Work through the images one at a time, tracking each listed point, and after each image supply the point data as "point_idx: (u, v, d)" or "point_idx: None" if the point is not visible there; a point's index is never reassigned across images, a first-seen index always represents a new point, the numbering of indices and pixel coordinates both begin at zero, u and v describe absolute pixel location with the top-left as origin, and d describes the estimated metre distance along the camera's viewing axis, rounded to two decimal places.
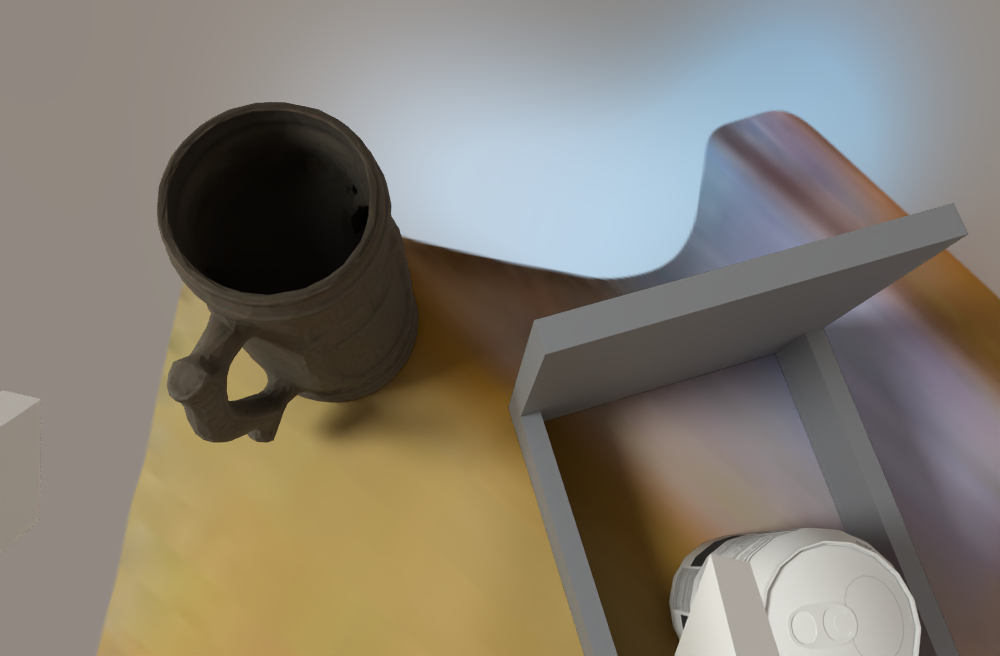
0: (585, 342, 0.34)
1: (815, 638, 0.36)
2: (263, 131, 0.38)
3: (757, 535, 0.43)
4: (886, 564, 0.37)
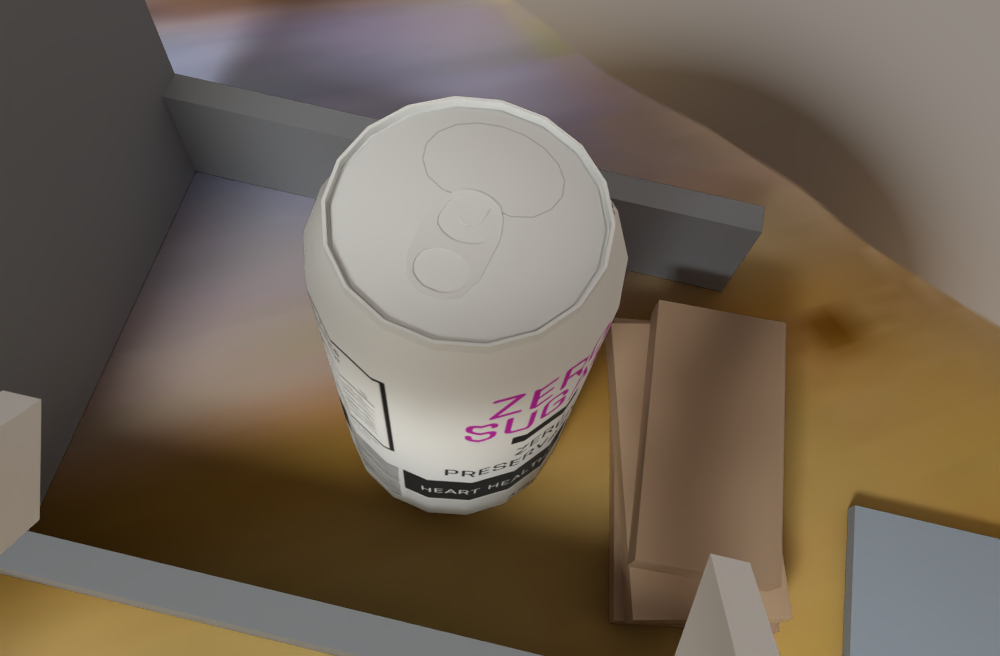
0: None
1: (467, 264, 0.19)
2: None
3: None
4: (431, 103, 0.21)
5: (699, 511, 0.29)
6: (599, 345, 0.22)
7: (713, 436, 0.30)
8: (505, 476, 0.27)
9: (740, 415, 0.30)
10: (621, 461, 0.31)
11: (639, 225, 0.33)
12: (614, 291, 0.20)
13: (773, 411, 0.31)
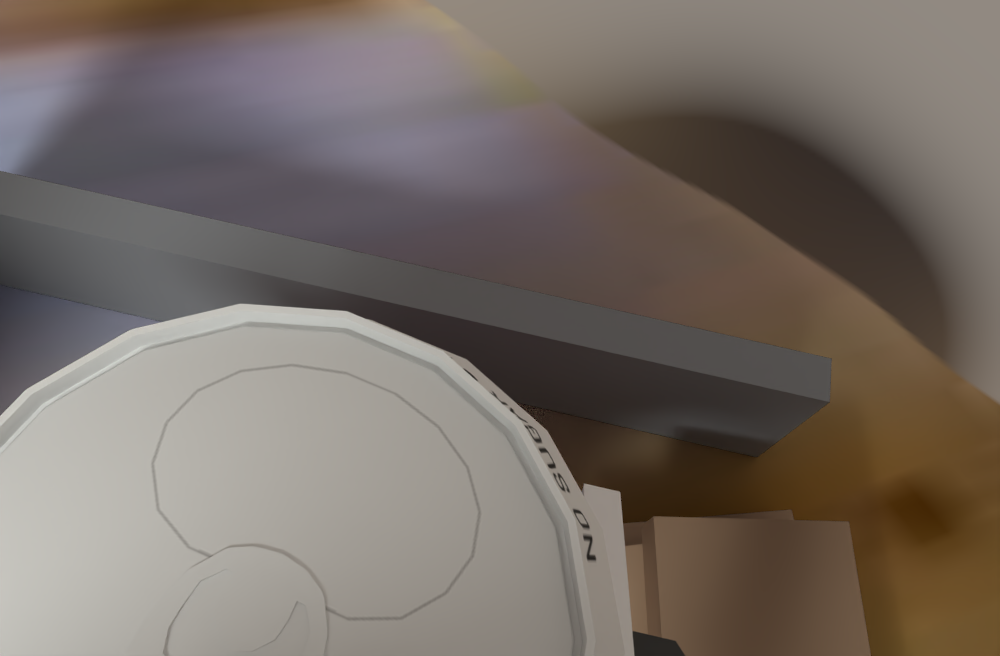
0: None
1: None
2: None
3: None
4: (185, 323, 0.09)
5: None
6: None
7: None
8: None
9: None
10: None
11: (639, 381, 0.22)
12: None
13: None
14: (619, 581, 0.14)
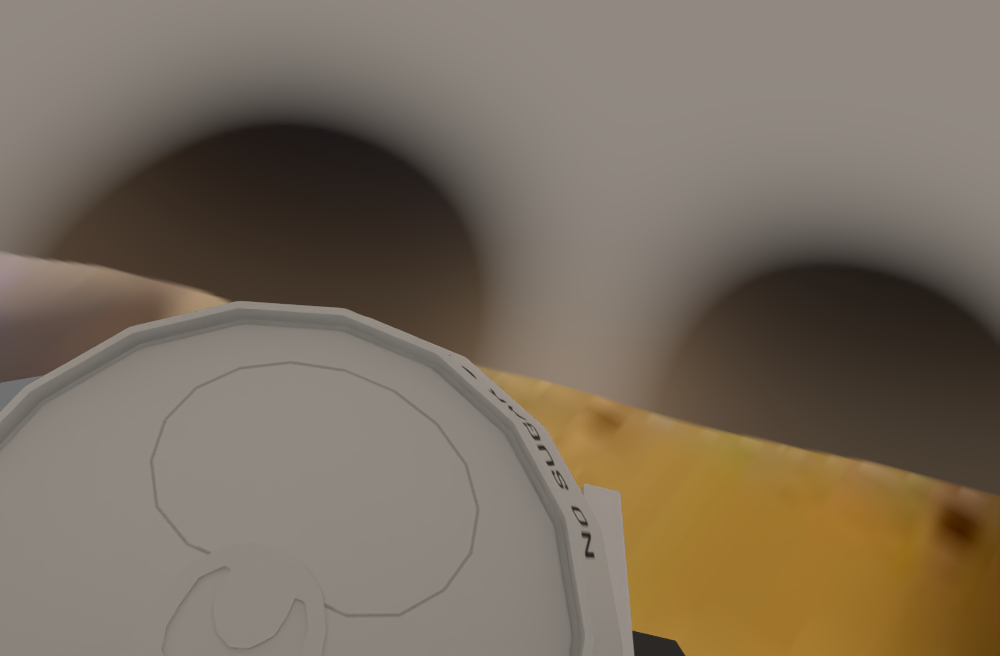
0: None
1: None
2: None
3: None
4: (184, 320, 0.09)
5: None
6: None
7: None
8: None
9: None
10: None
11: None
12: None
13: None
14: (619, 581, 0.14)
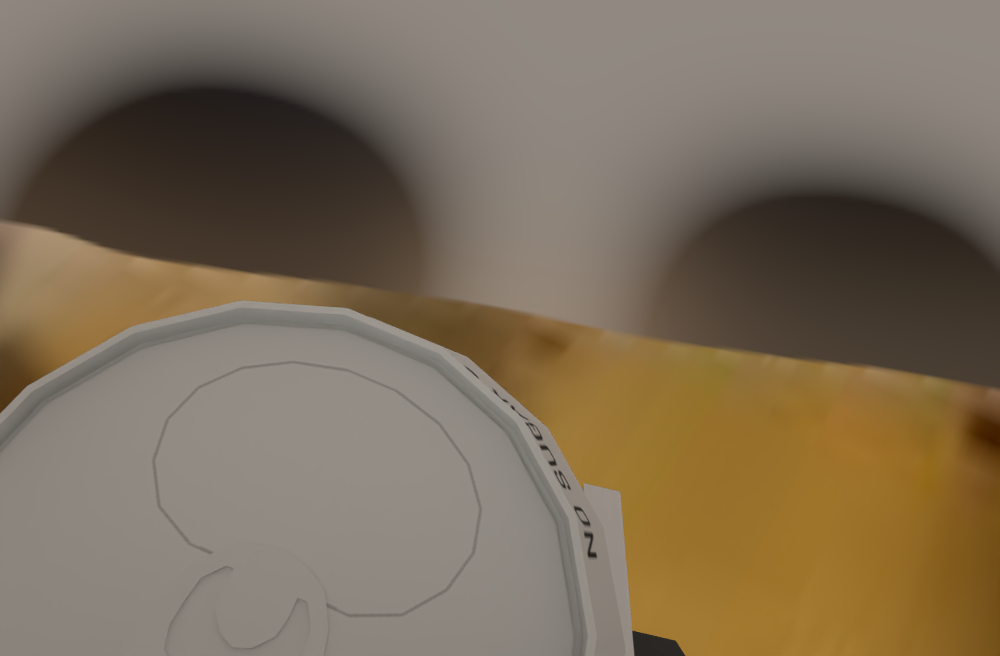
0: None
1: None
2: None
3: None
4: (186, 319, 0.09)
5: None
6: None
7: None
8: None
9: None
10: None
11: None
12: None
13: None
14: (619, 581, 0.14)
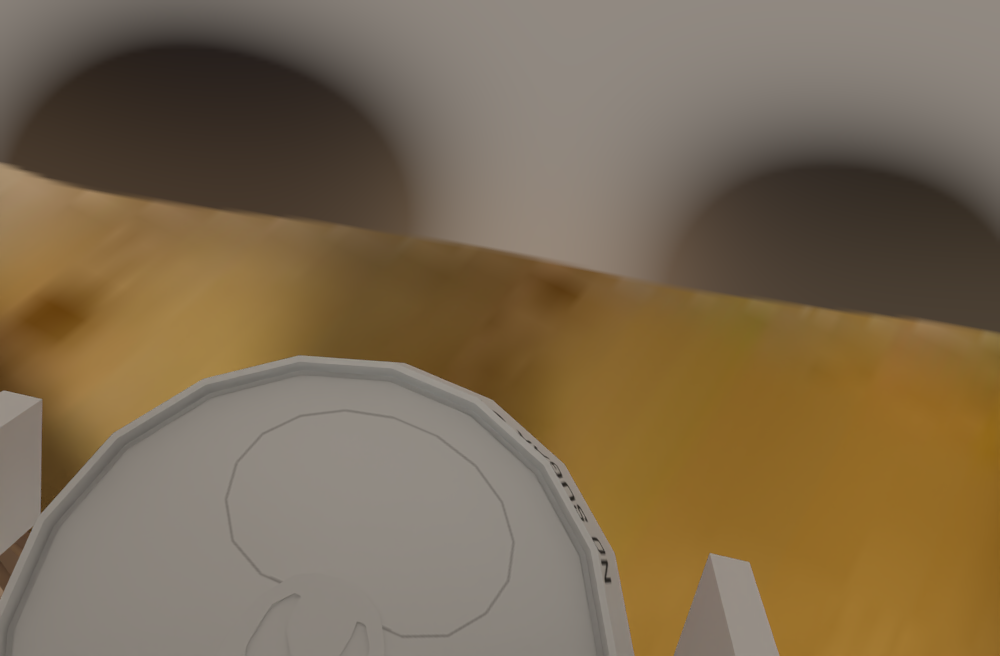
0: None
1: None
2: None
3: None
4: (251, 373, 0.11)
5: None
6: None
7: None
8: None
9: None
10: None
11: None
12: None
13: None
14: None
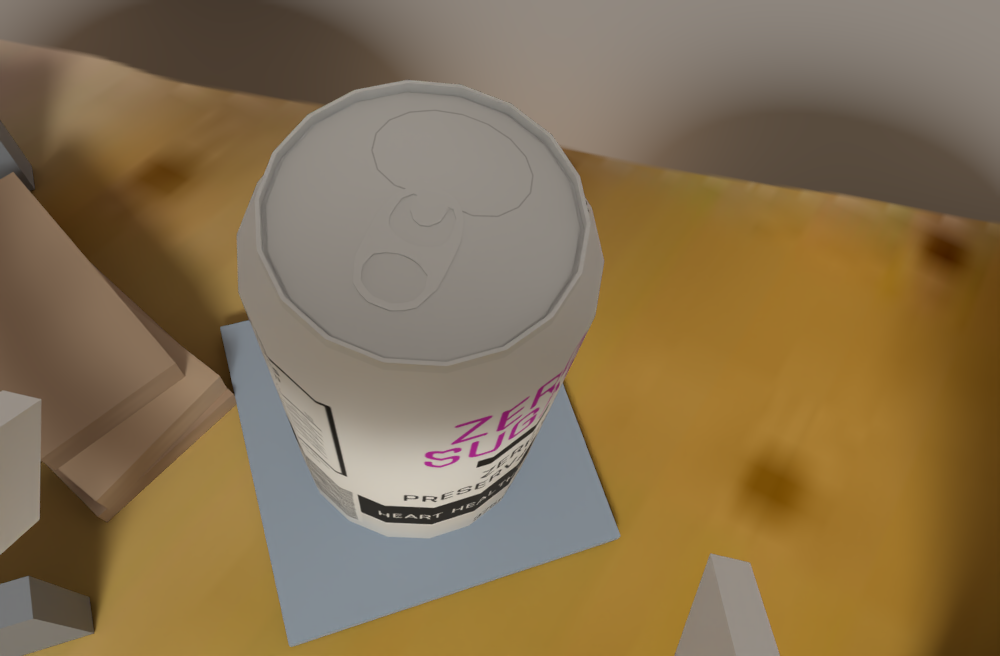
0: None
1: (424, 270, 0.17)
2: None
3: None
4: (381, 87, 0.19)
5: (63, 374, 0.27)
6: (573, 358, 0.20)
7: (25, 309, 0.28)
8: (470, 499, 0.25)
9: (35, 274, 0.29)
10: None
11: None
12: (590, 299, 0.18)
13: (60, 246, 0.29)
14: None
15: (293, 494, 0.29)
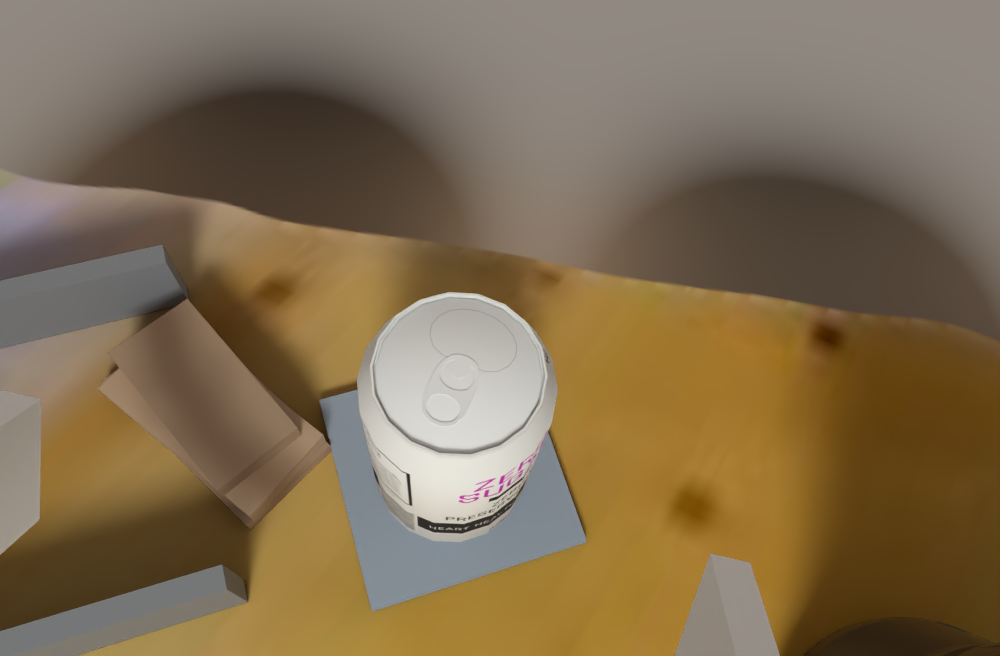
0: None
1: (458, 403, 0.32)
2: None
3: None
4: (434, 297, 0.34)
5: (228, 435, 0.43)
6: (542, 441, 0.35)
7: (201, 392, 0.44)
8: (486, 518, 0.40)
9: (206, 368, 0.45)
10: (172, 451, 0.44)
11: (89, 294, 0.46)
12: (548, 414, 0.33)
13: (221, 350, 0.45)
14: None
15: (371, 513, 0.45)
